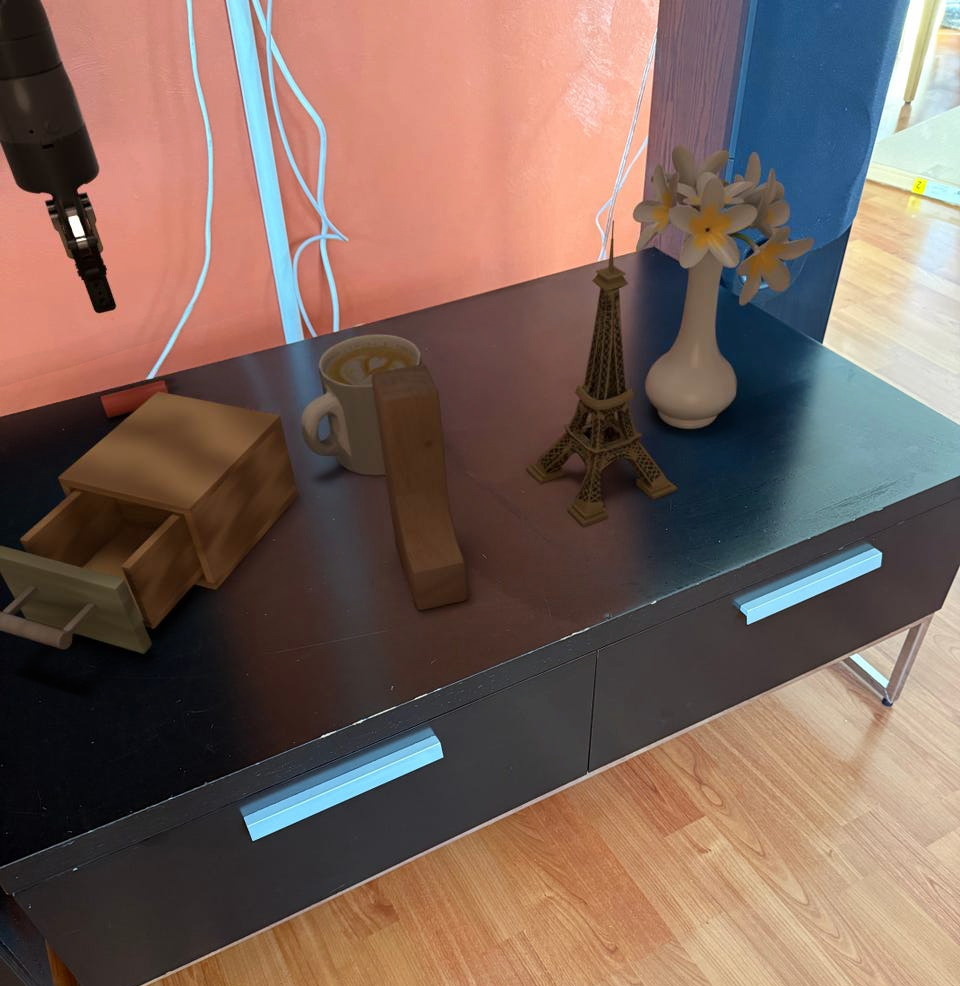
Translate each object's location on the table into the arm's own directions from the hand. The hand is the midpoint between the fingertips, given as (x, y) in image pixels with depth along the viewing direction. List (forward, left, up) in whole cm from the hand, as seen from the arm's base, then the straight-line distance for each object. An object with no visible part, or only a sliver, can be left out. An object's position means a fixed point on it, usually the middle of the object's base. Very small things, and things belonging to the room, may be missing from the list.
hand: (105, 308), depth 97 cm
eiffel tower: (+52, +4, -12) cm, 53 cm away
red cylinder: (-1, 0, -12) cm, 12 cm away
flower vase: (+58, +18, -12) cm, 62 cm away
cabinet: (+18, -15, -12) cm, 26 cm away
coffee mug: (+28, +1, -12) cm, 30 cm away
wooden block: (+42, -14, -12) cm, 46 cm away
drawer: (+18, -27, -11) cm, 34 cm away
